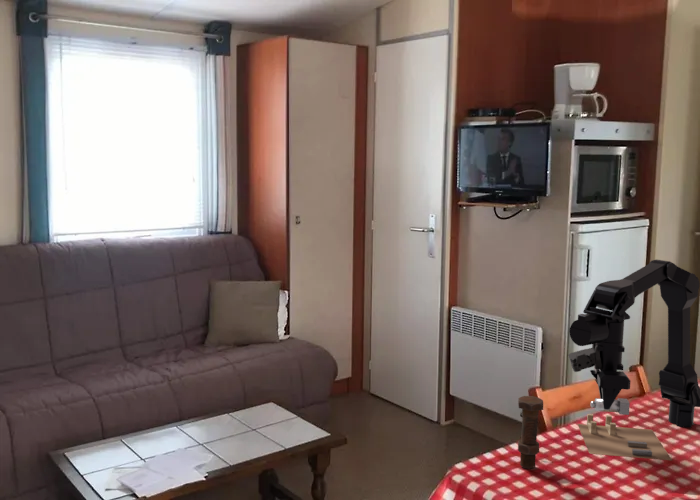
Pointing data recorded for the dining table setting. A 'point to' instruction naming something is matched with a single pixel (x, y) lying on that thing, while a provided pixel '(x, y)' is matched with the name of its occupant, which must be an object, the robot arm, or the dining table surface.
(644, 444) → the socket
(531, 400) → the bolt
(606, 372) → the robot arm
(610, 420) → the rack
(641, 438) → the board
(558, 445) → the dining table surface
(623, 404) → the grey piece
